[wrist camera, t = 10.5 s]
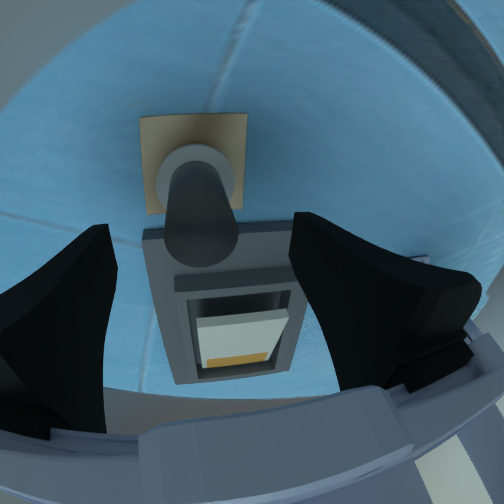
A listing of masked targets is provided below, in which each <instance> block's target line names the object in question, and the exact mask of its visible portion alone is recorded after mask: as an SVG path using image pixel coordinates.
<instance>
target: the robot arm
mask: <svg viewBox="0 0 504 504" xmlns="http://www.w3.org/2000/svg"><path fill="white" fill-rule="evenodd" d="M288 256H289V259H290V262H291V266H292V268H293V271H294V274H295V276H296V278H297V280H298V282H299V284H300V286H301V288H302V290H303V292H304V294H305V296H306V298H307V300H308V302H309V304H310V305H311V307H312V309H313V311H314V313H315V315H316V317H317V319H318V322H319V324H320V326H321V329H322V332H323V334H324V337H325V340H326V343H327V346H328V349H329V352H330V355H331V358H332V361H333V365H334V368H335V372H336V376H337V379H338V383H339V387H340V392H338V393H334V394H331V395H327V396H323V397H319V398H315V399H311V400H307V401H303V402H299V403H294V404H289V405H284V406H279V407H274V408H269V409H263V410H257V411H252V412H245V413H237V414H230V415H222V416H214V417H203V418H193V419H187V420H181V421H175V422H168V423H162V424H160V425H158V426H156V427H154V428H152V429H150V430H147V431H145V432H144V433H142V434H141V435H124V434H123V435H122V434H107V430H106V423H105V414H104V401H103V400H104V399H103V355H104V343H105V336H106V331H107V326H108V321H109V316H110V312H111V308H112V303H113V299H114V294H115V290H116V282H117V272H118V266H117V262H116V258H115V254H114V249H113V245H112V241H111V236H110V231H109V226H108V224H99V225H93V226H91V227H90V228H88V229H87V230H85V231H84V232H83V233H82V234H80V235H79V236H78V237H77V238H76V239H74V240H73V241H72V242H71V243H70V244H69V245H67V246H66V247H65V248H64V249H63V250H62V251H60V252H59V253H58V254H57V255H55V256H54V257H53V258H52V259H51V260H49V261H48V262H47V263H46V264H45V265H43V266H42V267H41V268H39V269H38V270H37V271H35V272H34V273H33V274H31V275H30V276H28V277H27V278H26V279H24V280H23V281H21V282H20V283H18V284H16V285H15V286H13V287H12V288H10V289H8V290H7V291H5V292H4V293H2V294H0V491H3V492H5V493H8V494H10V495H13V496H15V497H18V498H20V499H23V500H26V501H29V502H32V503H35V504H433V503H432V500H431V498H430V496H429V494H428V491H427V489H426V487H425V484H424V482H423V480H422V478H421V476H420V473H419V471H418V469H417V467H416V465H415V462H414V461H415V460H416V459H418V458H420V457H421V456H423V455H425V454H426V453H428V452H430V451H431V450H433V449H434V448H436V447H438V446H439V445H441V444H442V443H443V442H445V441H447V440H448V439H450V438H451V437H453V436H454V435H455V434H457V436H458V438H459V439H460V441H461V443H462V445H463V446H464V448H465V450H466V452H467V454H468V455H469V457H470V459H471V461H472V463H473V464H474V466H475V468H476V470H477V472H478V474H479V476H480V478H481V480H482V482H483V483H484V485H485V488H486V490H487V492H488V494H489V496H490V498H491V500H492V502H493V504H504V418H503V416H502V414H501V412H500V411H499V409H498V408H497V406H496V404H495V403H496V402H497V401H498V400H499V399H500V398H501V397H502V396H503V395H504V352H503V351H502V349H501V348H500V347H499V345H498V344H497V343H496V341H495V340H494V339H493V337H492V336H491V335H490V334H489V333H486V334H484V335H483V334H482V333H481V332H480V330H479V329H478V328H477V326H476V325H475V324H474V323H473V321H472V320H471V319H470V316H471V315H472V313H473V311H474V310H475V308H476V306H477V304H478V303H479V300H480V297H481V293H482V287H481V284H480V283H479V282H478V281H477V279H476V278H475V277H474V276H473V275H471V274H470V273H468V272H463V271H457V270H452V269H446V268H441V267H437V266H433V265H429V262H430V257H429V256H424V257H416V258H406V257H403V256H401V255H398V254H395V253H393V252H390V251H388V250H385V249H383V248H381V247H378V246H376V245H374V244H372V243H370V242H368V241H366V240H364V239H362V238H360V237H358V236H356V235H354V234H352V233H350V232H348V231H346V230H344V229H343V228H341V227H339V226H337V225H335V224H333V223H331V222H330V221H328V220H326V219H324V218H322V217H320V216H318V215H316V214H313V213H311V212H295V213H294V220H293V227H292V233H291V240H290V247H289V253H288Z"/></svg>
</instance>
